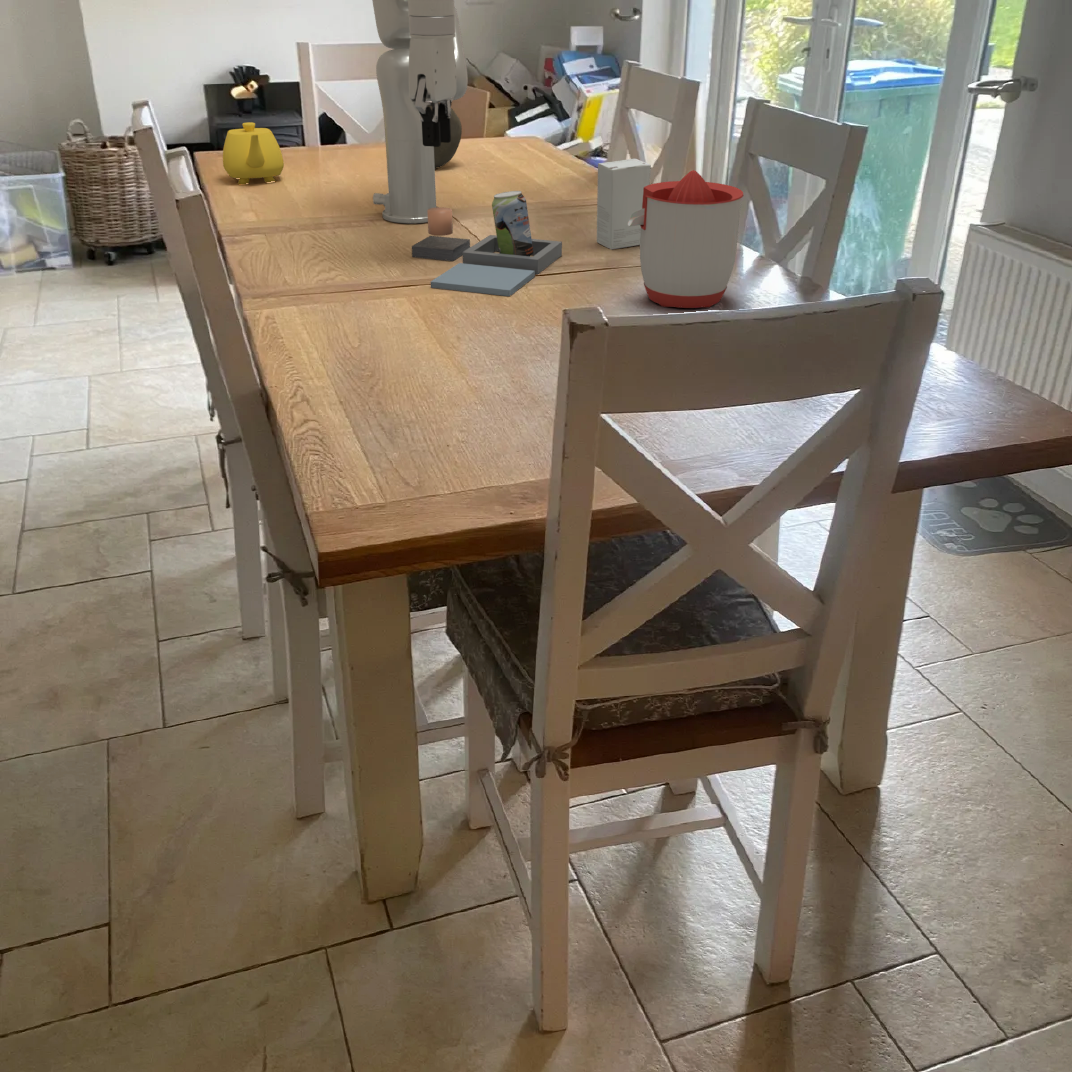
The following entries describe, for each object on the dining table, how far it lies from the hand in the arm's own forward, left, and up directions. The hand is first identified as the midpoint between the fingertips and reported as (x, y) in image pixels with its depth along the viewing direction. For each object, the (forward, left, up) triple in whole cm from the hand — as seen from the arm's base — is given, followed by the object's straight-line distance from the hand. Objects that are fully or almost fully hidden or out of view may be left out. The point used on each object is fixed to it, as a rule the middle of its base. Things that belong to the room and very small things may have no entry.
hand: (436, 142), depth 186 cm
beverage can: (+14, 0, -19) cm, 24 cm away
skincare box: (+29, +18, -19) cm, 39 cm away
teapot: (-67, +44, -20) cm, 82 cm away
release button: (0, 0, -15) cm, 15 cm away
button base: (0, 0, -19) cm, 19 cm away
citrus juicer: (+47, -12, -19) cm, 52 cm away
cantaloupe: (-35, +74, -19) cm, 84 cm away
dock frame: (+14, 0, -19) cm, 24 cm away
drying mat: (+14, -14, -19) cm, 28 cm away
